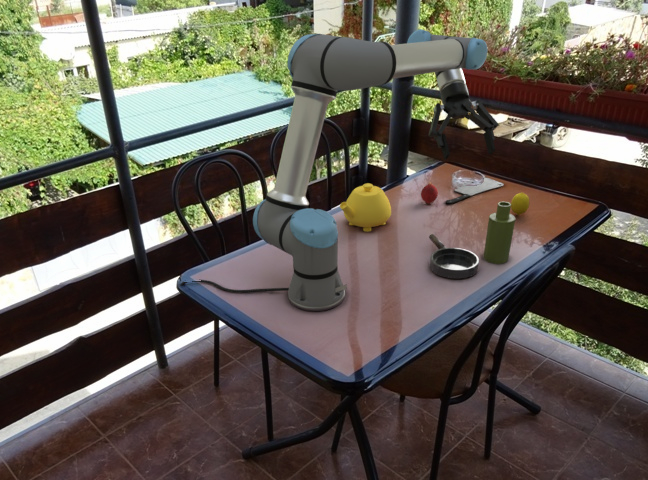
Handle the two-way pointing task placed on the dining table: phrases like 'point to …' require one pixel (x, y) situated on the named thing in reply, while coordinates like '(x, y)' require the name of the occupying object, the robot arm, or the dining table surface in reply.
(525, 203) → the lemon
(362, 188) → the teapot
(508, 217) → the oil bottle
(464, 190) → the cleaver
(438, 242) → the pan handle
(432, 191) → the onion
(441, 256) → the pan
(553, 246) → the dining table surface
